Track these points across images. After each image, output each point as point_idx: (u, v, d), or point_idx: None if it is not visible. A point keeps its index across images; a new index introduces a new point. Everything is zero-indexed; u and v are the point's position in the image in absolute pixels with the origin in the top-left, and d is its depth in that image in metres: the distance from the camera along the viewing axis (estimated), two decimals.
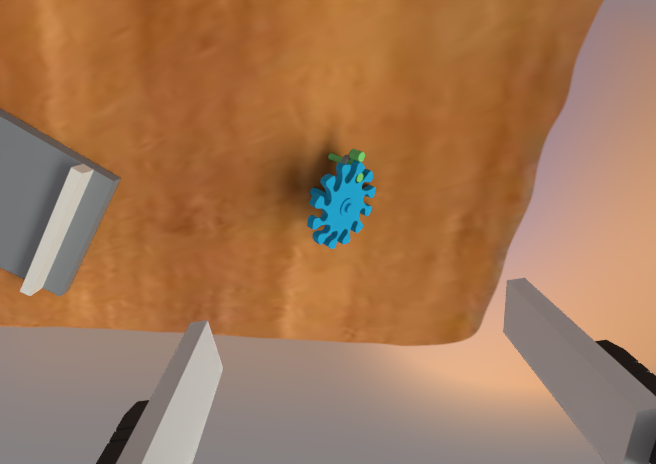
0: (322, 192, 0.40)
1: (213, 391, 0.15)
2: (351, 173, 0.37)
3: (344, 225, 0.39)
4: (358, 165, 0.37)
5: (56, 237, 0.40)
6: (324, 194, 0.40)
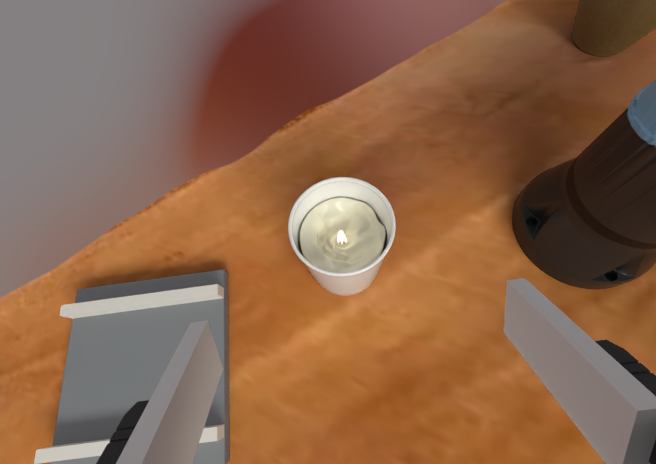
0: None
1: (213, 391, 0.15)
2: None
3: None
4: None
5: None
6: None
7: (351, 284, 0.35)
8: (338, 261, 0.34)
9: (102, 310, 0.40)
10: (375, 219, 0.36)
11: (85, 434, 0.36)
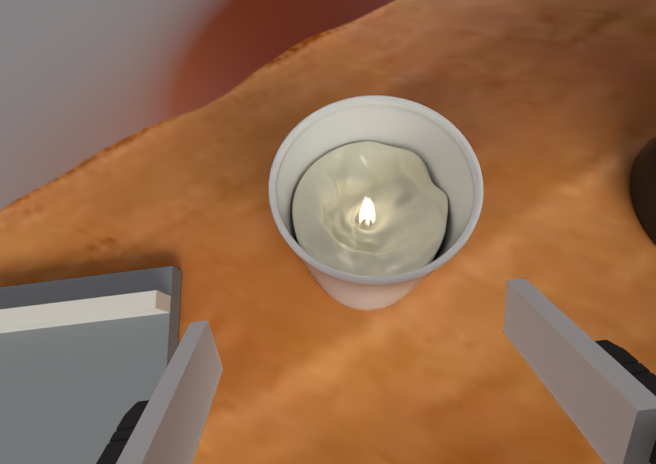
0: None
1: (213, 391, 0.15)
2: None
3: None
4: None
5: None
6: None
7: (386, 297, 0.19)
8: (363, 253, 0.19)
9: None
10: (427, 180, 0.20)
11: None
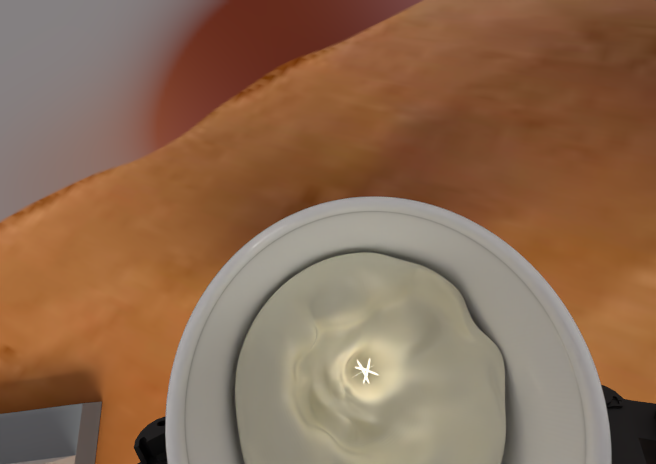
0: None
1: None
2: None
3: None
4: None
5: None
6: None
7: None
8: None
9: None
10: (465, 319, 0.12)
11: None
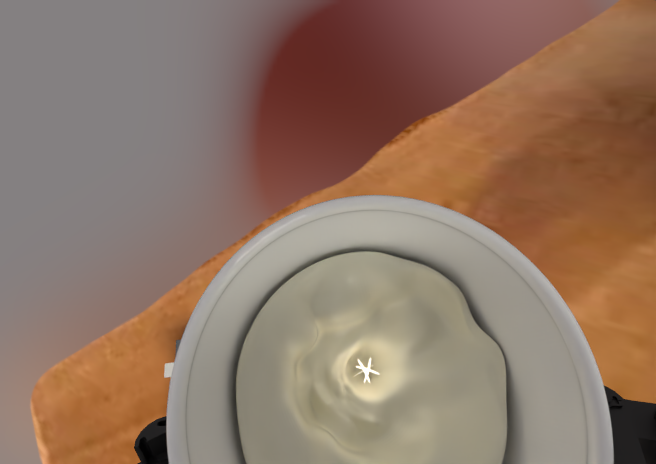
0: None
1: None
2: None
3: None
4: None
5: None
6: None
7: None
8: None
9: None
10: (466, 318, 0.12)
11: None
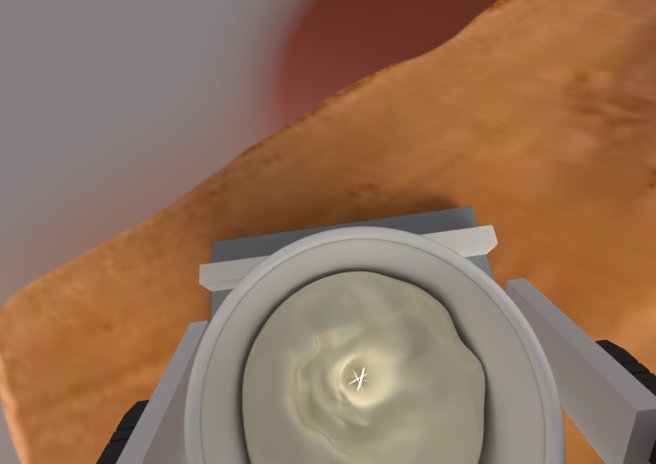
0: None
1: None
2: None
3: None
4: None
5: None
6: None
7: None
8: None
9: None
10: (452, 334, 0.13)
11: None
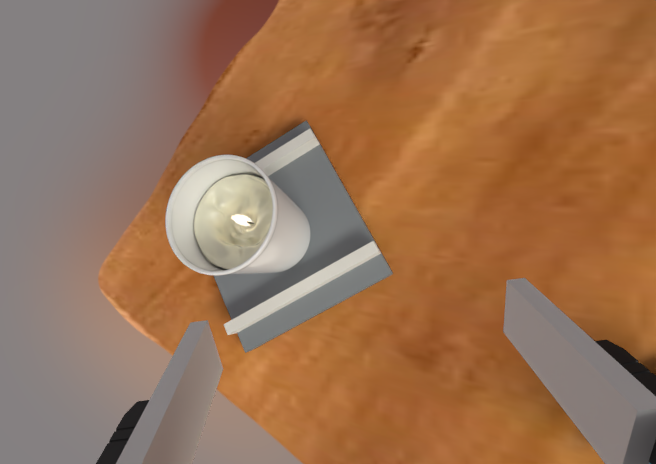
0: None
1: (213, 391, 0.15)
2: None
3: None
4: None
5: (302, 294, 0.36)
6: None
7: (267, 267, 0.31)
8: (243, 248, 0.31)
9: None
10: (269, 187, 0.32)
11: (255, 303, 0.39)
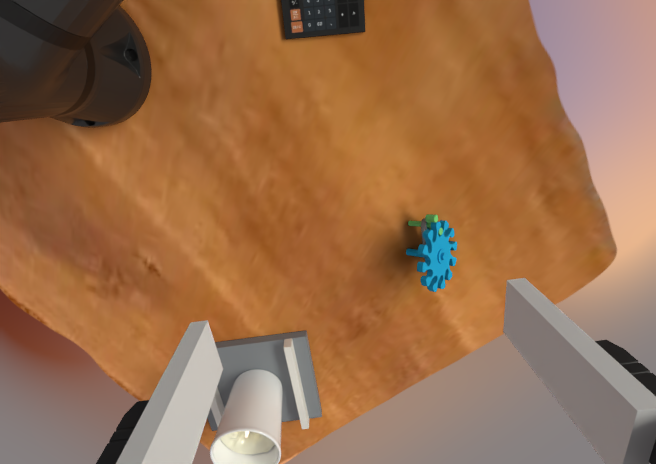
0: (416, 251, 0.51)
1: (213, 391, 0.15)
2: (434, 232, 0.48)
3: (444, 268, 0.50)
4: (436, 225, 0.48)
5: (300, 388, 0.58)
6: None
7: (280, 420, 0.53)
8: None
9: None
10: None
11: (295, 406, 0.62)
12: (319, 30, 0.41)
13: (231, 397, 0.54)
